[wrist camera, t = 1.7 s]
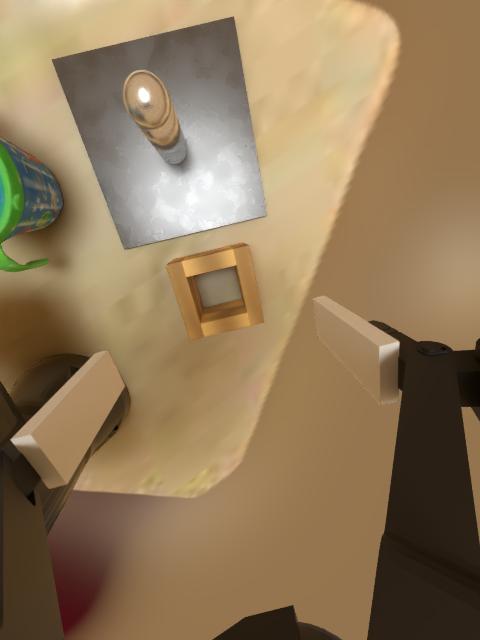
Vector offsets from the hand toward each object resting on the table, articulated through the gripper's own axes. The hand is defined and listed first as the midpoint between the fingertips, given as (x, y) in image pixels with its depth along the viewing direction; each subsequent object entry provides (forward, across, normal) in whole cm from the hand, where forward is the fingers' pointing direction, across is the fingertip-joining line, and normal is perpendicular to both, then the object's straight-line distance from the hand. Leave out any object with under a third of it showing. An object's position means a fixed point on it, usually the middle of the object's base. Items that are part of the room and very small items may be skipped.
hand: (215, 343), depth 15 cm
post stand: (+19, -1, +16) cm, 24 cm away
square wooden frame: (+19, 0, 0) cm, 19 cm away
